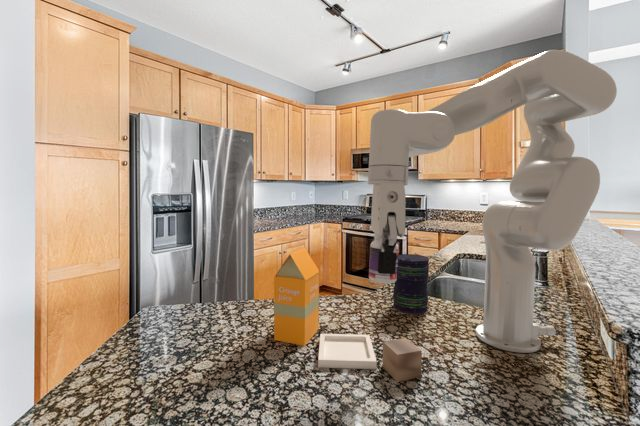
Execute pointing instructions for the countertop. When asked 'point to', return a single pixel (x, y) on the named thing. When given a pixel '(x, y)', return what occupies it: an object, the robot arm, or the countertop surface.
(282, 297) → the orange juice
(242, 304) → the countertop surface
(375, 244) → the pill bottle
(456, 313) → the countertop surface
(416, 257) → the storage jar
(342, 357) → the tray
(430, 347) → the countertop surface
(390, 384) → the countertop surface
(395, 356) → the walnut block
